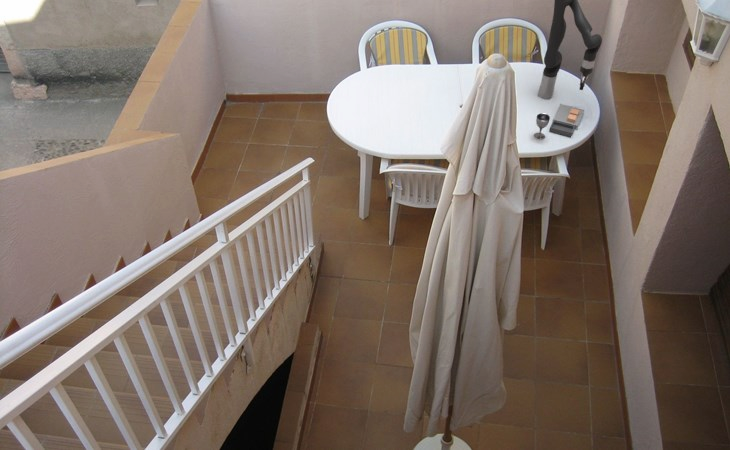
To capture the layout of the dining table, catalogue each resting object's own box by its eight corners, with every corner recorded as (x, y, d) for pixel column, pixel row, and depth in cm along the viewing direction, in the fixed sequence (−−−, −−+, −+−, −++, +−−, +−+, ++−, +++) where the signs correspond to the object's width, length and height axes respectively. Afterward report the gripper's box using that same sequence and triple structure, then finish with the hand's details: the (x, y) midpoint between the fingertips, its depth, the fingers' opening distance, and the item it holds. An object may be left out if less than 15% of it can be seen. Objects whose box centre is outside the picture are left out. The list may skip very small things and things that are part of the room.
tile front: (566, 121, 443) (567, 118, 442) (568, 116, 446) (569, 113, 445) (574, 123, 442) (575, 119, 440) (576, 118, 445) (577, 115, 443)
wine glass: (531, 132, 440) (535, 113, 430) (543, 131, 441) (547, 112, 430) (534, 140, 435) (538, 121, 424) (547, 139, 435) (551, 120, 424)
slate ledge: (552, 123, 447) (552, 119, 445) (559, 107, 459) (560, 103, 457) (576, 129, 442) (577, 125, 440) (583, 113, 454) (584, 109, 452)
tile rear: (569, 115, 447) (569, 112, 446) (571, 111, 451) (571, 108, 449) (576, 117, 446) (577, 114, 444) (578, 113, 449) (579, 110, 447)
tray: (549, 131, 441) (550, 127, 438) (552, 123, 446) (553, 119, 444) (570, 137, 436) (571, 133, 434) (574, 129, 442) (575, 125, 440)
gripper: (584, 57, 434) (578, 81, 447) (579, 69, 425) (573, 92, 438) (596, 60, 432) (589, 83, 444) (591, 72, 423) (585, 95, 436)
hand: (581, 88), depth 441 cm, fingers open, 3 cm apart
